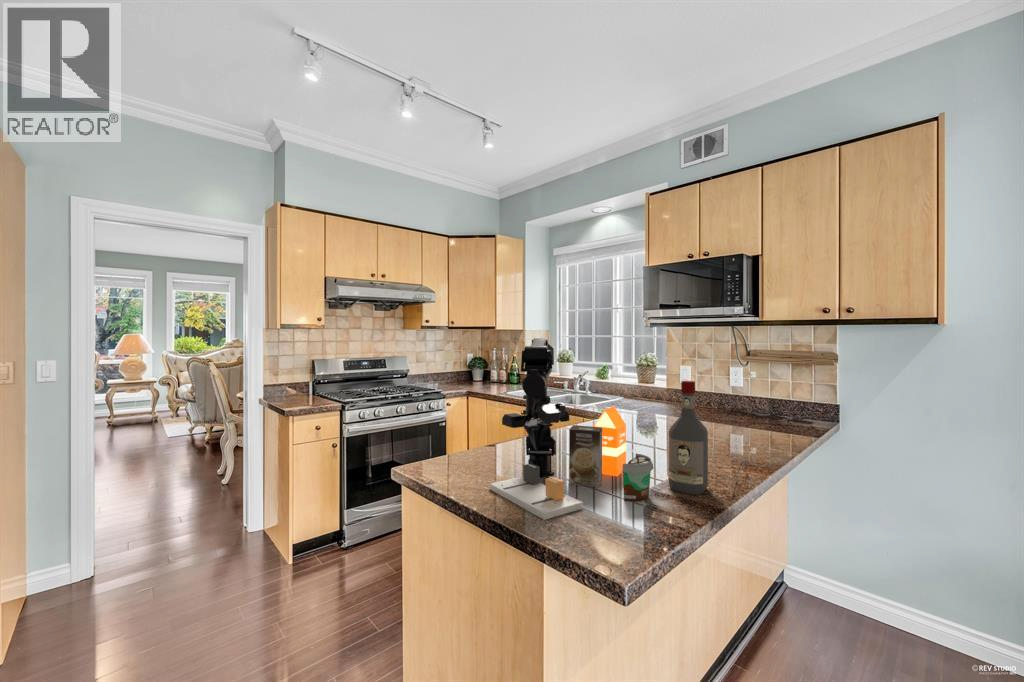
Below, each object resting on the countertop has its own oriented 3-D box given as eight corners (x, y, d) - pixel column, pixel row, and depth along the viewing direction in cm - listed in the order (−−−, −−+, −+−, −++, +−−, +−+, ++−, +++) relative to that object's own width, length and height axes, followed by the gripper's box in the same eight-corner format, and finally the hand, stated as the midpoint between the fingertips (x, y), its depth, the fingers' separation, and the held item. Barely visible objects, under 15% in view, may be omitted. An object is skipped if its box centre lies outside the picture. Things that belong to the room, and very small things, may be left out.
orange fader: (554, 493, 117) (554, 476, 116) (564, 498, 113) (563, 480, 113) (545, 495, 115) (545, 478, 115) (555, 500, 112) (555, 482, 112)
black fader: (531, 478, 129) (531, 462, 128) (539, 482, 125) (539, 466, 125) (523, 480, 127) (523, 464, 127) (531, 484, 124) (531, 467, 124)
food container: (646, 507, 112) (646, 467, 112) (622, 502, 115) (622, 463, 115) (658, 492, 122) (658, 456, 122) (636, 488, 126) (636, 452, 125)
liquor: (676, 481, 131) (675, 379, 131) (709, 487, 126) (709, 380, 126) (666, 490, 124) (666, 382, 123) (701, 497, 119) (701, 384, 118)
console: (524, 481, 132) (524, 475, 132) (582, 508, 111) (582, 501, 111) (489, 489, 126) (489, 483, 126) (544, 519, 105) (544, 512, 105)
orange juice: (626, 469, 143) (626, 406, 143) (617, 476, 136) (616, 410, 136) (603, 465, 148) (603, 404, 147) (592, 472, 140) (592, 408, 140)
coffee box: (567, 484, 129) (567, 429, 129) (572, 477, 135) (572, 424, 135) (600, 487, 126) (599, 431, 126) (603, 480, 132) (602, 426, 132)
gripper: (523, 398, 110) (523, 461, 110) (582, 392, 119) (582, 451, 119) (500, 393, 119) (501, 451, 119) (557, 388, 129) (557, 442, 129)
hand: (536, 449), depth 122 cm, fingers closed
